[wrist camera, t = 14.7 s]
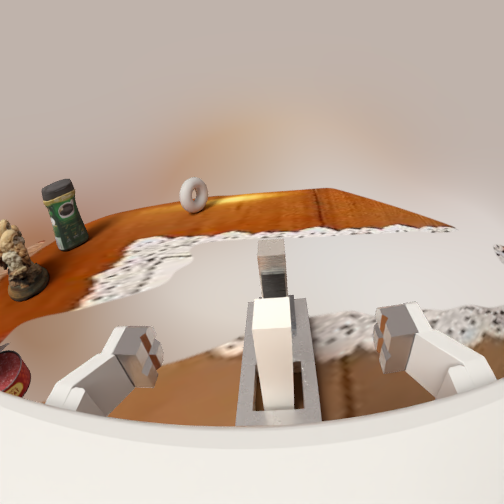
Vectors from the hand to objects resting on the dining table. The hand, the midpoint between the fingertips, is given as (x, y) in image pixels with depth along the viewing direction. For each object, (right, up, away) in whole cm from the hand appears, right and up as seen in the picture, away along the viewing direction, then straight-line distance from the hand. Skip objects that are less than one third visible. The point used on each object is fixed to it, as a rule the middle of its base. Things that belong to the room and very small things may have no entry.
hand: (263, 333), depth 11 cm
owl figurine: (-53, -5, +49) cm, 72 cm away
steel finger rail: (+3, -10, +25) cm, 27 cm away
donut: (-16, +14, +77) cm, 80 cm away
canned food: (-37, -17, +21) cm, 46 cm away
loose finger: (+3, -13, +20) cm, 24 cm away
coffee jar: (-51, +5, +68) cm, 85 cm away
